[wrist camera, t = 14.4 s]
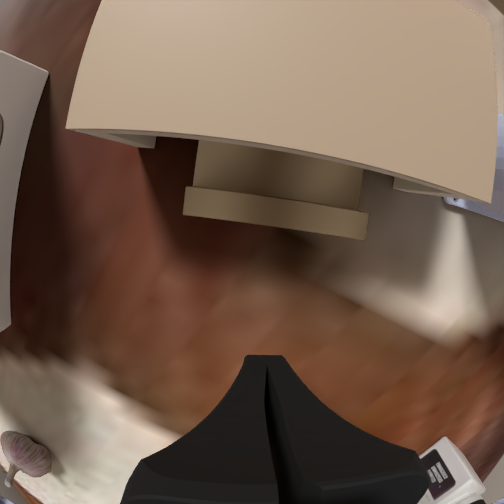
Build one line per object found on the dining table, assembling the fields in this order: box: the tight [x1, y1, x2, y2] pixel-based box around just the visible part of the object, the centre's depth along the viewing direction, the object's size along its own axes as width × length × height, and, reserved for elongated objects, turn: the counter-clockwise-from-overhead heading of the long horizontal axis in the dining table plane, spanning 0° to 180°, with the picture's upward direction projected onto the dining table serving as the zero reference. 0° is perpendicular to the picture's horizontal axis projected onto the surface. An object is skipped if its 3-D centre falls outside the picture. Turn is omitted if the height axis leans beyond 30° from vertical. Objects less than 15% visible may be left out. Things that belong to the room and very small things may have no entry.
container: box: [417, 436, 486, 504], centre depth 19 cm, size 8×8×13 cm
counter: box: [66, 0, 498, 203], centre depth 13 cm, size 18×10×9 cm, turn 81°
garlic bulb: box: [0, 431, 51, 487], centre depth 21 cm, size 8×7×8 cm
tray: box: [183, 140, 369, 240], centre depth 16 cm, size 12×11×5 cm
